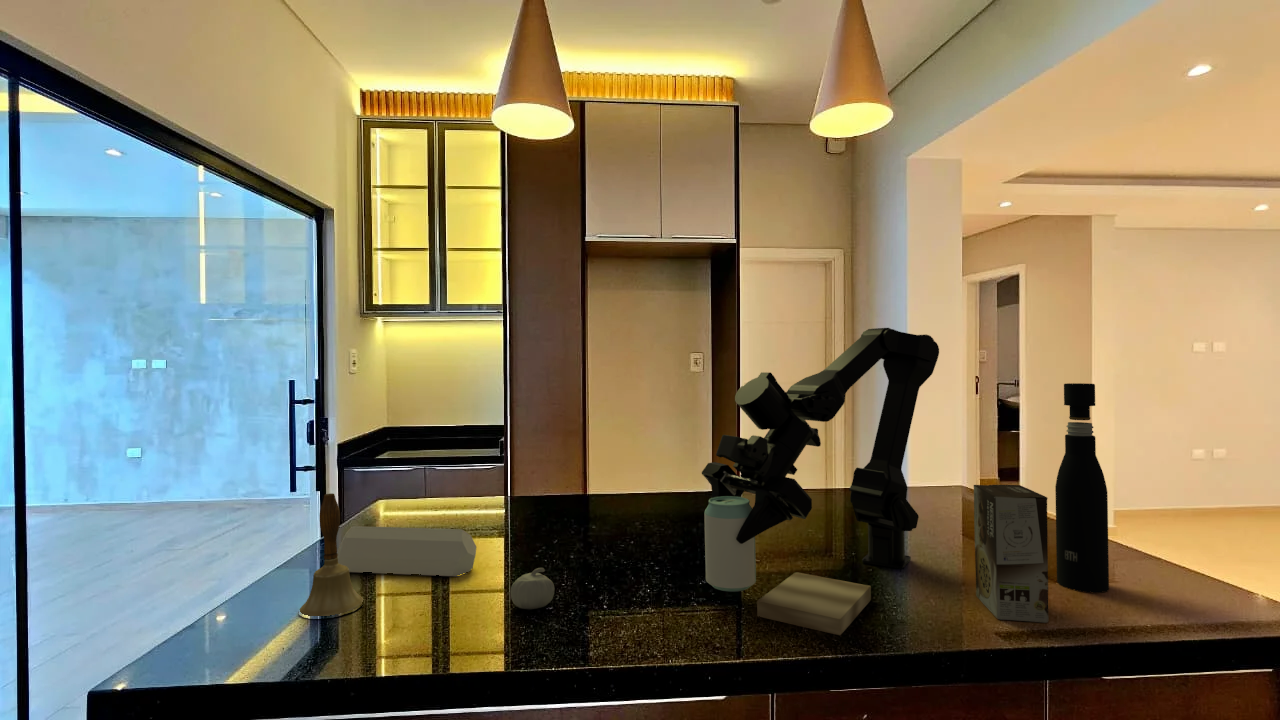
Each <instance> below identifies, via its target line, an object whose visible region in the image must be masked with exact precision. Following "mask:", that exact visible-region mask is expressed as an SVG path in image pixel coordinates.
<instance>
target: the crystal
mask: <svg viewBox="0 0 1280 720" xmlns="http://www.w3.org/2000/svg"><path fill="white" fill-rule="evenodd" d="M337 554H338V556H337V557H338V563H339V564H341V565H344V566H347V567H348V568H349V573H363V572H372V573H371V574H387V573H393V575H411V574H419V575H418V576H436V575H439V576H441V577H458V576H457V575H460V574H463V573H466V572H468V573H469V572H471V569H473V567H474V562H475V558H476V554H477V545H476V543H475V541H474V539H473V537H472V535H471V534H470V533H468V532H467V531H466V530H464V529H463V528H460V529H459V528H432V527H431V528H430V527H429V528H428V527H427V528H426V527H425V528H423V527H398V526H396V527H393V526H392V527H391V526H363V525H362V526H361V525H360V526H359V525H352V526H351V527H350V528H349V529H348V530H347V531H346V532H345V534H344V536H343V538H342V540H341V542H340V544H339V547H337ZM420 574H421V575H420ZM466 574H467V573H466Z"/></svg>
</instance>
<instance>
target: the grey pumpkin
mask: <svg viewBox="0 0 1280 720" xmlns="http://www.w3.org/2000/svg"><path fill="white" fill-rule="evenodd" d="M544 572H545V568H544V567H538V568H535V569H534V570H533V571H532V572H529V573H525V574H522V575H521V576H520V577H518V578H517V579H516V580H515V581H514V582H513V583H512V585H511V588H510V599H511V601H512V603H513V604H514V605H515V606H516V607H517V608H518V609H521V610H536V609H541V608H545V607H547V605H548V604H550V603H551V602H552V600H553V598H554V596H555V585H554V582H553V581H552V580H551V579H549V577H548V576H546V575H543V574H542V573H544Z"/></svg>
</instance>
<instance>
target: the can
mask: <svg viewBox="0 0 1280 720" xmlns="http://www.w3.org/2000/svg"><path fill="white" fill-rule="evenodd" d="M752 508H753V507H752V506H751V504H750V499H748V498H746V497H742V496H740V497H736V496H721V497H714V498H712V497H711V498H709V499H708V505H707V507H706V508H705V510H704V512H703V513H704V517H703V518H704V525H705V528H704V545H705V546H704V551H705V552H704V554H705V556H704V557H705V559H704V560H705V581H706V583H708V584H709V585H710V586H712V587H713V588H714V589H716V590H718V591H723V592H729V593H730V592H734V593H735V592H742V591H745V590H748V589H749V588H750V587H753V585H755V584H756V582H757V570H756V569H757V565H756V564H757V563H756V536H755V537H753V538H751V539H750V540H748V541H746V542H745V543H743V544H740V543H739V542H738V541H737V540H736V537H737V535H738V533H739V531H740V529H741V527H742V526H743V524H744V522H745V520H746V519H747V517H748V515H749V513H750V512H751V510H752Z"/></svg>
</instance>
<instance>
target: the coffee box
mask: <svg viewBox="0 0 1280 720" xmlns="http://www.w3.org/2000/svg"><path fill="white" fill-rule="evenodd" d="M1048 499H1049V498H1048V497H1047V496H1045V495H1043V494H1040V493H1039V492H1036V491H1034V490H1032V489H1030V488H1028V487H1025V486H1022V485H1021V484H1020V485H1019V484H973V514H974V515H973V517H974V519H973V520H974V527H973V528H974V553H975V554H974V556H975V558H974V559H975V560H974V562H975V563H974V565H975V566H974V567H975V596H976V598H977V599H979V601H980V602H981V603H982V604H983V605H984V606H985V607H986V608H987V610H989V612H991V614H992V615H993V616H994V617H995V618H996V619H998V620H1002V621H1003V620H1005V621H1015V622H1016V621H1018V622H1031V623H1043V624H1047V623H1048V622H1049V560H1048V559H1049V554H1048V553H1049V552H1048V550H1049V549H1048V545H1049V544H1048V542H1049V540H1048V539H1049V538H1048Z"/></svg>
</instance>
